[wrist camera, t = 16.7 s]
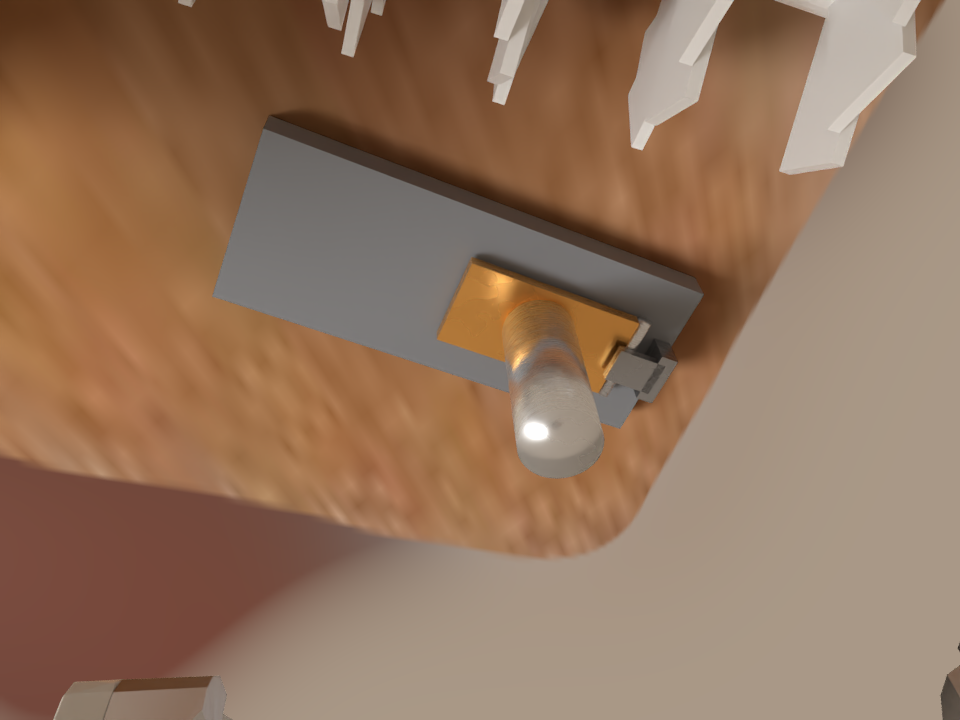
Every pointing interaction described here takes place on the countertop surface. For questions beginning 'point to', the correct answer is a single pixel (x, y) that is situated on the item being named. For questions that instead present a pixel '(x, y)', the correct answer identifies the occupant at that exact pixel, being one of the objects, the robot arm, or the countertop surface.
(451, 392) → the countertop surface
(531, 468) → the metal post on plate
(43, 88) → the countertop surface
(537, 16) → the spiral staircase
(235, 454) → the countertop surface
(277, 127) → the board
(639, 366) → the hook
